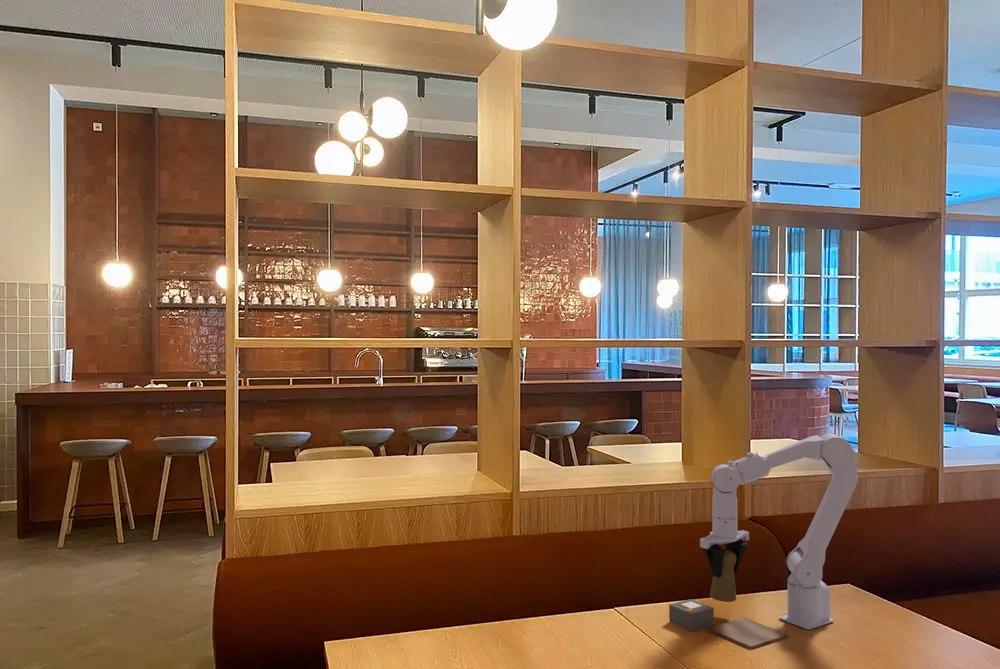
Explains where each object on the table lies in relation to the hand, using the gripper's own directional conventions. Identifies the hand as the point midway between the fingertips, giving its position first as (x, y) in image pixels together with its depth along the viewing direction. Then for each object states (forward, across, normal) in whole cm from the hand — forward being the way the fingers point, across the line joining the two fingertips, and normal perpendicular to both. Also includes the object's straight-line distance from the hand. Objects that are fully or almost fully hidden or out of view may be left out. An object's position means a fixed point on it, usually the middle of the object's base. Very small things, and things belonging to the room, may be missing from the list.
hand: (725, 574), depth 181 cm
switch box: (+10, +10, -1) cm, 14 cm away
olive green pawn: (+6, 0, 0) cm, 6 cm away
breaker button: (+9, +10, -1) cm, 13 cm away
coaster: (+10, +4, +10) cm, 15 cm away
